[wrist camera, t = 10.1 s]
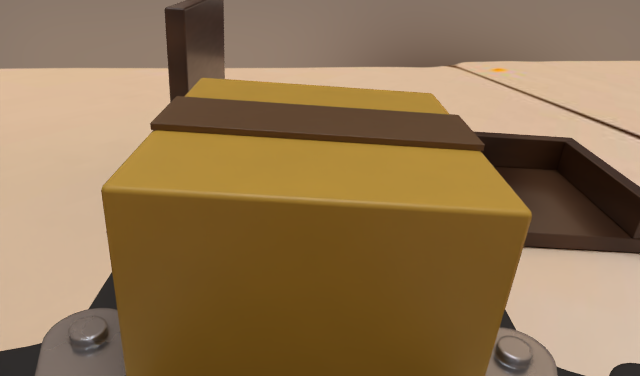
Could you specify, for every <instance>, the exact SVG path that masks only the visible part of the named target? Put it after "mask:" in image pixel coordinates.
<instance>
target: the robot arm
mask: <svg viewBox="0 0 640 376" xmlns="http://www.w3.org/2000/svg"><path fill="white" fill-rule="evenodd" d="M0 376H126V371H125V363H124V356H123V348H122V341H121V334H120V326H119V319H118V311H117V304H116V296H115V289H114V281H113V274H112V273H111V274H110V276H109V278H108V279H107V281H106V282H105V284H104V286H103V287H102V289H101V290H100V292H99V293H98V295H97V297H96V298H95V300H94V301H93V303H92V304H91V306H90V308H89V309H88V310H84V311H81V312H77V313H75V314H72V315H70V316H68V317H66V318H64V319H62V320H61V321H59V322H58V323H56V324H55V325H54V326H53V327H52V328H51V329H50V330H49V331H48V332H47V334H46V335H45V337H44V339H43V342H42V343H40V344H37V345H32V346H28V347H22V348H16V349H11V350H5V351H0ZM485 376H584V375H581V374H577V373H573V372H570V371H567V370H564V369H561V368H559V367H556V364H555V361H554V359H553V357H552V355H551V354H550V352H549V351H548V350H547V349H546V348H545V347H544V346H543V345H542V344H541V343H539V342H538V341H537V340H535V339H534V338H532V337H530V336H528V335H526V334H524V333H522V332H519V331H516V329H515V327H514V325H513V323H512V322H511V320H510V318H509V316H508V314H507V312H506V310H504V314H503V317H502V321H501V324H500V327H499V331H498V334H497V338H496V341H495V344H494V348H493V351H492V355H491V358H490V361H489V365H488V368H487V371H486V375H485ZM609 376H640V364H637V363H625V364H621V365H618V366H616V367H614V368H613V370H612V371H611V373H610V375H609Z"/></svg>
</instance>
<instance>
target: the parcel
mask: <svg viewBox="0 0 640 376" xmlns="http://www.w3.org/2000/svg"><path fill="white" fill-rule="evenodd" d="M151 130H153V131H152V133H151V134H150V135H149V136H148V137H147V138H146V139H145V140H144V141H143V142H142V144H141V145H140V146H139V147H138V148H137V149H136V150H135V151H134V152H133V153H132V154H131V156H130V157H129V158H128V159H127V160H126V161H125V162H124V163H123V164H122V165H121V167H120V168H119V169H118V170H117V171H116V172H115V173H114V174H113V175H112V176H111V178H110V179H109V180H108V181H107V182H106V183H105V184H104V185H103V187H102V190H101V192H102V200H103V207H104V214H105V222H106V229H107V237H108V244H109V252H110V259H111V267H112V274H113V281H114V289H115V296H116V304H117V311H118V319H119V326H120V334H121V341H122V348H123V356H124V363H125V371H126V376H485V375H486V371H487V368H488V365H489V361H490V358H491V355H492V351H493V348H494V344H495V341H496V338H497V334H498V331H499V327H500V324H501V321H502V317H503V314H504V310H505V307H506V304H507V300H508V297H509V293H510V290H511V287H512V283H513V280H514V277H515V273H516V270H517V266H518V263H519V260H520V256H521V253H522V249H523V246H524V243H525V239H526V236H527V232H528V229H529V226H530V222H531V219H532V213H531V211H530V209H529V208H528V207H527V206H526V205H525V203H524V202H523V201H522V200H521V199H520V198H519V196H518V195H517V194H516V193H515V192H514V190H513V189H512V188H511V187H510V186H509V184H508V183H507V182H506V181H505V180H504V178H503V177H502V176H501V175H500V174H499V173H498V171H497V170H496V169H495V168H494V167H493V165H492V164H491V163H490V162H489V161H488V159H487V158H486V157H485V156H484V155H483V153H482V152H481V151H483V150H484V146H485V144H484V143H483V142H482V141H481V140H480V139H479V138H478V137H477V135H476V134H475V133H474V132H473V131H472V130H471V129H470V128H469V127H468V125H467V124H466V123H465V122H464V121H463V120H462V119H461V118H460V116H459V115H452V114H449V113H448V112H447V111H446V109H445V108H444V107H443V106H442V105H441V103H440V102H439V101H438V100H437V99H436V98H435V96H434V95H433V94H431V93H418V92H403V91H389V90H374V89H360V88H345V87H330V86H316V85H301V84H287V83H272V82H258V81H243V80H229V79H214V78H201V79H200V80H199V81H198V82H197V83H196V84H195V85H194V86H193V88H192V89H191V90H190V91H189V92H188V93H187V94H186V95H185V96H176V97H175V98H174V99H173V100H172V101H171V103H170V104H169V105H168V106H167V107H166V108H165V109H164V110H163V111H162V112H161V113H160V114H159V115H158V116H157V117H156V118H155V119H154V120H153V121H152V122H151Z"/></svg>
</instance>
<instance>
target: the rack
mask: <svg viewBox="0 0 640 376" xmlns="http://www.w3.org/2000/svg"><path fill="white" fill-rule="evenodd" d="M223 6H224V5H223V0H186V1H183V2H180V3H177V4H175V5H172V6H169V7H166V8H165V23H166V39H167V55H168V70H169V86H170V102H171V101H172V100H173V99H174V98H175V97H176V96H185V95H186V94H187V93H188V92H189V91H190V90H191V89H192V88H193V86H194V85H195V84H196V83H197V82H198V81H199V80H200V79H201V78H214V79H225V75H224V7H223ZM474 133H475V134H476V135H477V137H478V138H479V139H480V140H481V141H482V142H483V143H484V144H485V146H484V150H483V151H481V152H482V153H483V155H484V156H485V157H486V158H487V159H488V161H489V162H490V163H491V164H492V165H493V167H494V168H495V169H496V170H497V171H498V173H499V174H500V175H501V176H502V177H503V178H504V180H505V181H506V182H507V183H508V184H509V186H510V187H511V188H512V189H513V190H514V192H515V193H516V194H517V195H518V196H519V198H520V199H521V200H522V201H523V202H524V203H525V205H526V206H527V207H528V208H529V209H530V211H531V213H532V219H531V222H530V226H529V229H528V232H527V236H526V239H525V243H524V246H530V247H548V248H566V249H584V250H603V251H621V252H639V253H640V187H639V186H638V185H636V184H635V183H634V182H632V181H631V180H629V179H628V178H627V177H625V176H624V175H622V174H621V173H620V172H618V171H617V170H615V169H614V168H613V167H611V166H610V165H608V164H607V163H606V162H604V161H603V160H601V159H600V158H599V157H597V156H596V155H595V154H593V153H592V152H590V151H589V150H588V149H586V148H585V147H583V146H582V145H581V144H579V143H578V142H576V141H575V140H574V139H572V138H564V137H549V136H533V135H517V134H502V133H486V132H474Z"/></svg>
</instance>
